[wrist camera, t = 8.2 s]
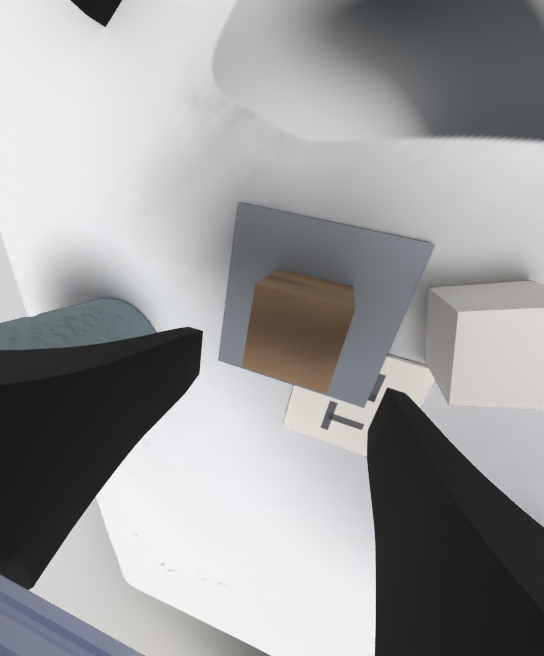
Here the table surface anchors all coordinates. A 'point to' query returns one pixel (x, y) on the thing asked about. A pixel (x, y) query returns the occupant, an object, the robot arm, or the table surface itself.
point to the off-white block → (487, 344)
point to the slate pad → (333, 265)
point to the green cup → (75, 326)
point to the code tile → (354, 406)
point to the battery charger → (98, 9)
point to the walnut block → (298, 328)
